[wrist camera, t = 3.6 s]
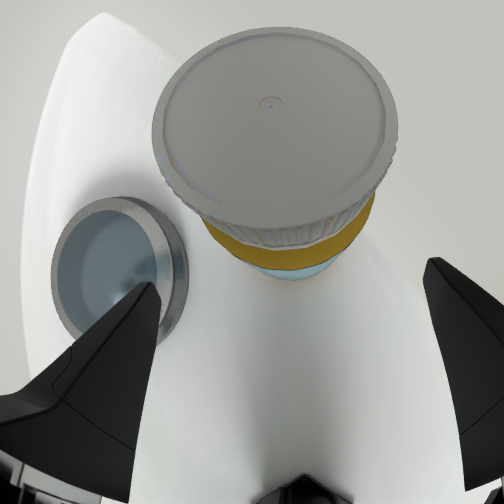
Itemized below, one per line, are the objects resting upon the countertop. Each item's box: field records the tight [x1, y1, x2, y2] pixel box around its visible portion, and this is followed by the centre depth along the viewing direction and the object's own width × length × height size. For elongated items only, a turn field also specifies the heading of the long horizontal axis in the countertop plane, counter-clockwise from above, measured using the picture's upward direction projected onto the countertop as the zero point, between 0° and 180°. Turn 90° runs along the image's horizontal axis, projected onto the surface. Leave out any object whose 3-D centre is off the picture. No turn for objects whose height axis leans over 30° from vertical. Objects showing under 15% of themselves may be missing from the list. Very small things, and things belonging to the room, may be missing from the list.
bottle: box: [152, 27, 398, 280], centre depth 14 cm, size 7×7×15 cm
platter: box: [51, 198, 176, 340], centre depth 21 cm, size 12×12×1 cm
